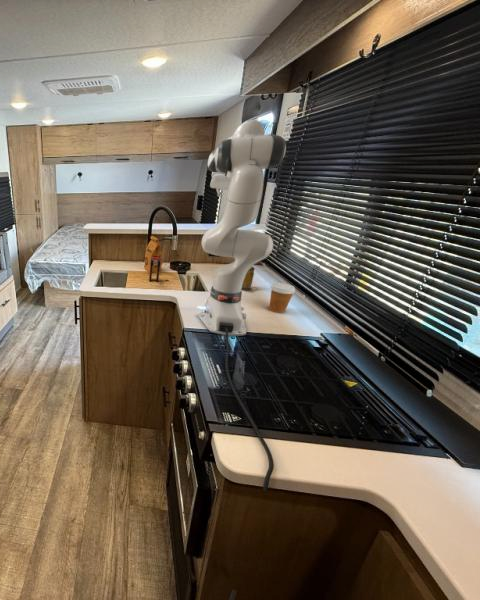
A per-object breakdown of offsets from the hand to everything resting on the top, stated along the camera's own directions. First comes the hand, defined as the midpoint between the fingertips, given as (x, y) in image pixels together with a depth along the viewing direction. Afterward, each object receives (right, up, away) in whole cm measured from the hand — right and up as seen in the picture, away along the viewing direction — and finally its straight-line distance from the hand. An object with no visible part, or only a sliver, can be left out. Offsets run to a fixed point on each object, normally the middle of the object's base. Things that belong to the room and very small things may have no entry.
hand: (228, 197), depth 163 cm
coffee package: (-33, -37, +33) cm, 59 cm away
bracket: (-37, -45, +15) cm, 60 cm away
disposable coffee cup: (+13, -60, -19) cm, 64 cm away
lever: (-38, -35, +5) cm, 51 cm away
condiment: (+13, -49, +6) cm, 51 cm away
